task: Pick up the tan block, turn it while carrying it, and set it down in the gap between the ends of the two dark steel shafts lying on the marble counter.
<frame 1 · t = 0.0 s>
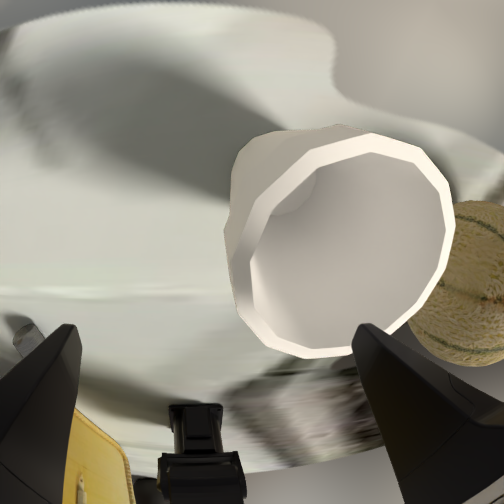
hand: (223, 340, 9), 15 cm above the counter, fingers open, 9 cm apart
foam cup: (274, 173, 22), on the counter
cantaloupe: (431, 245, 28), on the counter
picnic basket: (32, 422, 32), on the counter
cola bottle: (152, 482, 45), on the counter
shaft a: (44, 345, 26), on the counter
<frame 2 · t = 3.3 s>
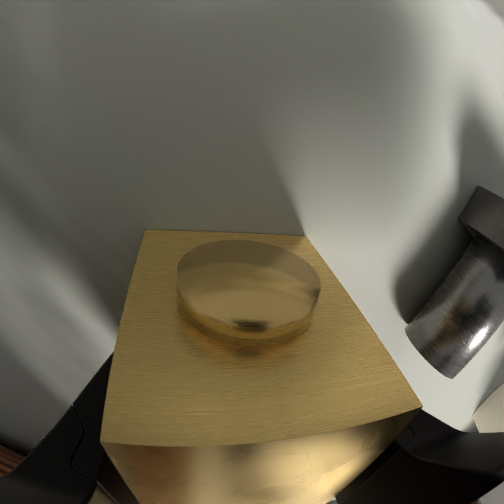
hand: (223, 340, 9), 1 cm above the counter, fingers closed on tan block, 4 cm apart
foam cup: (492, 397, 24), on the counter
tan block: (219, 318, 10), on the counter, touching gripper
picnic basket: (15, 466, 15), on the counter
shaft b: (454, 275, 11), on the counter
when the fingers open (3 cm above the counter, at t = 7.1 s): tan block drops 2 cm, on the counter.
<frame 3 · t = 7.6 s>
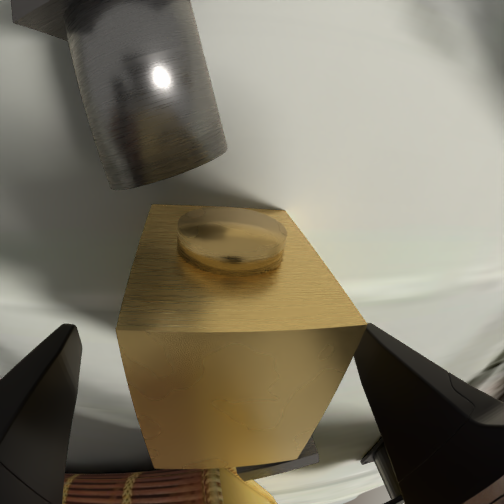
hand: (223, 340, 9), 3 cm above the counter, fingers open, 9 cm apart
tan block: (213, 282, 12), on the counter
picnic basket: (136, 492, 22), on the counter
shaft a: (257, 398, 16), on the counter
shaft b: (146, 64, 7), on the counter
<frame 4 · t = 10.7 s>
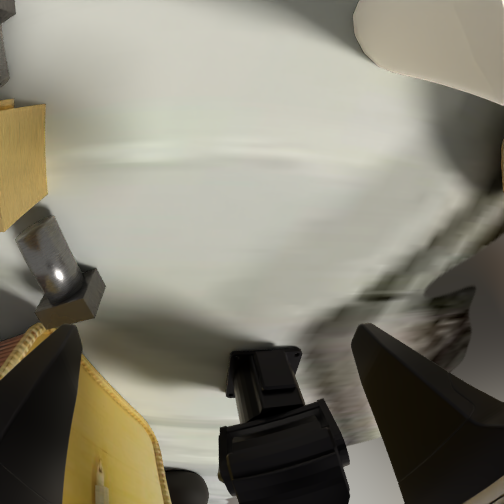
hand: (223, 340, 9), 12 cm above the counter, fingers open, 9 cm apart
foam cup: (390, 32, 16), on the counter
tan block: (18, 152, 15), on the counter
picnic basket: (31, 395, 26), on the counter
cola bottle: (180, 475, 39), on the counter
shaft a: (61, 255, 19), on the counter
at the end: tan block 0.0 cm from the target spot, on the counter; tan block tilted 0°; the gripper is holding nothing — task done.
